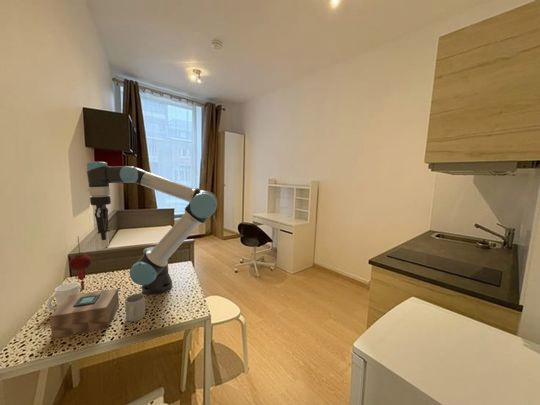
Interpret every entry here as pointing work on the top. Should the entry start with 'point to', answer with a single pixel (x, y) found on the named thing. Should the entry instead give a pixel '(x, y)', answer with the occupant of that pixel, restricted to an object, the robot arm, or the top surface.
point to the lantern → (80, 265)
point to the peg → (87, 299)
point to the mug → (63, 294)
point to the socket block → (84, 313)
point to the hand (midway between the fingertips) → (105, 245)
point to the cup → (135, 307)
